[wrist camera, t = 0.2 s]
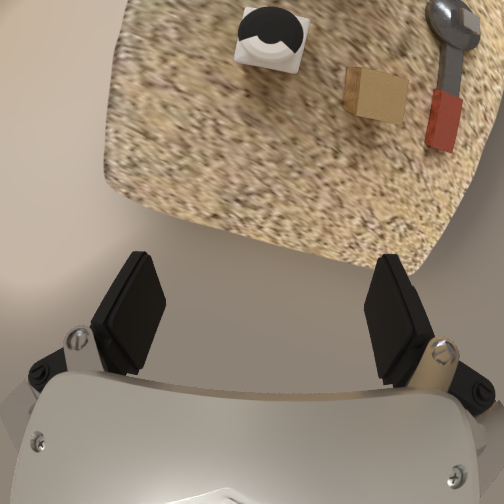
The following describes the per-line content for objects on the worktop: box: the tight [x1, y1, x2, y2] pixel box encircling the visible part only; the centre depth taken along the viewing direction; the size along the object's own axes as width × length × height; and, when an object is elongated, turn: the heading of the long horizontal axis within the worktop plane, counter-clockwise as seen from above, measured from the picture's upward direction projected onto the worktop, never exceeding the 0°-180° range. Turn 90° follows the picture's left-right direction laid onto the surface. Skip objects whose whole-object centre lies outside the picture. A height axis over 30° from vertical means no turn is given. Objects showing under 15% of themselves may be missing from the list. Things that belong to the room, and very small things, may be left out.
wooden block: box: [343, 67, 409, 126], centre depth 28 cm, size 6×6×7 cm
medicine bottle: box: [234, 7, 310, 74], centre depth 23 cm, size 7×7×12 cm
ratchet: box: [424, 0, 480, 153], centre depth 23 cm, size 26×9×6 cm, turn 178°
